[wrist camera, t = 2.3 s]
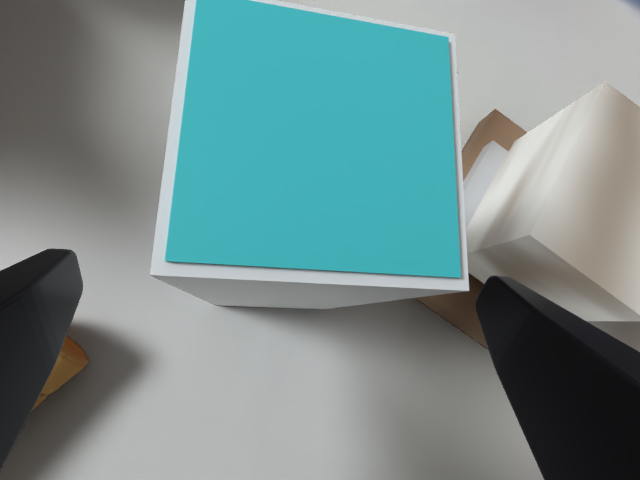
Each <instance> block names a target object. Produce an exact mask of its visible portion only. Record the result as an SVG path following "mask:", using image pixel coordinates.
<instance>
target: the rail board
mask: <svg viewBox="0 0 640 480" xmlns="http://www.w3.org/2000/svg"><path fill="white" fill-rule="evenodd" d="M461 153H462V171H463V189H464V207H465V224H466V242H467V260H468V278H469V291H465V292H457V293H449V294H441V295H433V296H425V297H417V298H416V299H417V300H419V301H420V302H422V303H423V304H425V305H426V306H427V307H429V308H430V309H432V310H433V311H434V312H436V313H437V314H439V315H440V316H441V317H443V318H444V319H446V320H447V321H449V322H450V323H451V324H453V325H454V326H456V327H457V328H458V329H460V330H461V331H463V332H464V333H465V334H467V335H468V336H470V337H471V338H473V339H474V340H475V341H477V342H478V343H480V344H481V345H482V346H484V347H485V348H487V349H488V346H487V343H486V340H485V337H484V334H483V331H482V328H481V325H480V322H479V319H478V316H477V313H476V308H475V303H476V300H477V298H478V296H479V294H480V292H481V290H482V288H483V286H484V284H485V282H486V280H487V279H488V278H489V277H490V276H493V275H499V276H508V277H511V278H512V279H514V280H516V281H517V282H519V283H521V284H523V285H524V286H526V287H528V288H530V289H531V290H533V291H535V292H537V293H538V294H540V295H542V296H544V297H545V298H547V299H549V300H550V301H552V302H554V303H556V304H557V305H559V306H561V307H563V308H564V309H566V310H568V311H570V312H571V313H573V314H575V315H576V316H578V317H580V318H582V319H583V320H585V321H587V322H589V323H590V324H592V325H594V326H596V327H597V328H599V329H601V330H602V331H604V332H606V333H608V334H609V335H611V336H613V337H615V338H616V339H618V340H620V341H622V342H623V343H625V344H627V345H629V346H630V347H632V348H634V349H635V350H637V351H639V352H640V107H639V106H637V105H636V104H635V103H633V102H632V101H631V100H630V99H628V98H627V97H626V96H624V95H623V94H622V93H620V92H619V91H618V90H616V89H615V88H614V87H612V86H611V85H610V84H608V83H607V82H606V81H605V82H603V83H602V84H600V85H599V86H597V87H596V88H594V89H593V90H591V91H590V92H588V93H587V94H585V95H584V96H582V97H581V98H579V99H578V100H576V101H575V102H573V103H572V104H570V105H569V106H567V107H566V108H564V109H563V110H561V111H560V112H558V113H557V114H555V115H554V116H552V117H551V118H549V119H547V120H546V121H544V122H543V123H541V124H540V125H538V126H537V127H535V128H534V129H532V130H531V131H529V132H528V133H527V132H526V131H524V130H523V129H522V128H520V127H519V126H518V125H516V124H515V123H514V122H512V121H511V120H510V119H508V118H507V117H506V116H504V115H503V114H502V113H500V112H499V111H498V110H496V109H495V110H493V111H492V112H491V113H490V114H489V115H487V116H486V117H485V118H484V119H483V120H482V121H480V122H479V123H478V125H477V127H476V128H475V130H474V132H473V133H472V135H471V136H470V138H469V140H468V141H467V143H466V145H465V146H464V148H463V150H462V151H461ZM488 350H489V349H488Z"/></svg>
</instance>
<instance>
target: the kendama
mask: <svg viewBox="0 0 640 480" xmlns="http://www.w3.org/2000/svg"><path fill="white" fill-rule="evenodd" d="M87 364H88V357H87V355H86V354H85V352H84V351H83V350H82V349H81V347H80V346H79V345H78V344H77V343H76V342H74V341H73V340H72V339H71V338H70V337H69V336H68V335H66V338H65V341H64V343H63V346H62V349H61V351H60V354H59V356H58V359H57V361H56V364H55V366H54V368H53V370H52V372H51V374H50V376H49V378H48V380H47V382H46V384H45V386H44V388H43V390H42V391H41V393H40V395H39V397H38V399H37V401H36V403H35V405H34V407H33V409H34V408H36V407H37V406H38V405H39V404H40V403H41V402H43V401H44V400H45V399H46V398H47V397H48V395H49V394H51V393H53V392H54V391H56V390H57V389H58V388H59V387H61V386H62V385H63V384H64V383H66V382H67V381H68V380H69V379H70V378H72V377H73V376H74V375H76V374H77V373H78V372H79V371H81V370H82V369H83V368H84V367H85V366H86V365H87ZM33 409H32V410H33Z"/></svg>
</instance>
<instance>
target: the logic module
mask: <svg viewBox="0 0 640 480" xmlns="http://www.w3.org/2000/svg"><path fill="white" fill-rule="evenodd" d="M150 275H151V276H153V277H155V278H157V279H159V280H161V281H164V282H166V283H168V284H170V285H172V286H175V287H177V288H179V289H181V290H183V291H185V292H188V293H190V294H192V295H194V296H196V297H199V298H201V299H203V300H205V301H207V302H209V303H212V304H214V305H219V306H246V307H273V308H301V309H330V308H338V307H346V306H354V305H362V304H370V303H378V302H386V301H394V300H401V299H409V298H417V297H425V296H433V295H441V294H449V293H457V292H465V291H469V278H468V260H467V242H466V224H465V207H464V189H463V171H462V153H461V136H460V118H459V100H458V82H457V65H456V47H455V34H454V33H448V32H443V31H438V30H432V29H427V28H422V27H416V26H411V25H406V24H400V23H395V22H390V21H384V20H379V19H373V18H368V17H363V16H357V15H352V14H347V13H341V12H336V11H331V10H325V9H320V8H315V7H309V6H304V5H299V4H293V3H288V2H283V1H277V0H185V5H184V13H183V20H182V28H181V36H180V44H179V51H178V59H177V67H176V74H175V82H174V90H173V98H172V105H171V113H170V121H169V129H168V136H167V144H166V152H165V159H164V167H163V175H162V183H161V190H160V198H159V206H158V214H157V221H156V229H155V237H154V244H153V252H152V260H151V268H150Z"/></svg>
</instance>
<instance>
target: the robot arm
mask: <svg viewBox="0 0 640 480" xmlns="http://www.w3.org/2000/svg"><path fill="white" fill-rule="evenodd" d="M82 291H83V281H82V277H81V273H80V268H79V264H78V260H77V256H76V254H75V253H74V252H73V251H72V250H67V249H47V250H45V251H42V252H40V253H38V254H36V255H34V256H32V257H29V258H27V259H25V260H23V261H21V262H19V263H16V264H14V265H12V266H10V267H8V268H6V269H3V270H1V271H0V471H1V469H2V467H3V465H4V463H5V461H6V459H7V457H8V456H9V454H10V452H11V450H12V448H13V446H14V444H15V442H16V440H17V438H18V436H19V434H20V432H21V430H22V428H23V426H24V424H25V423H26V421H27V419H28V417H29V415H30V413H31V411H32V409H33V407H34V405H35V403H36V401H37V399H38V397H39V395H40V393H41V391H42V390H43V388H44V386H45V384H46V382H47V380H48V378H49V376H50V374H51V372H52V370H53V368H54V366H55V364H56V361H57V359H58V356H59V354H60V351H61V349H62V346H63V343H64V341H65V338H66V335H67V333H68V330H69V327H70V325H71V322H72V319H73V316H74V314H75V311H76V308H77V306H78V303H79V300H80V298H81V295H82ZM475 308H476V313H477V316H478V319H479V322H480V325H481V328H482V331H483V334H484V337H485V340H486V343H487V346H488V349H489V352H490V355H491V358H492V361H493V364H494V367H495V369H496V372H497V374H498V376H499V379H500V381H501V383H502V385H503V388H504V390H505V392H506V394H507V397H508V399H509V401H510V404H511V406H512V408H513V410H514V413H515V415H516V417H517V419H518V422H519V424H520V426H521V428H522V431H523V433H524V435H525V437H526V440H527V442H528V444H529V446H530V449H531V451H532V453H533V455H534V458H535V460H536V462H537V464H538V467H539V469H540V471H541V473H542V476H543V478H544V480H640V352H639V351H637V350H635V349H634V348H632V347H630V346H629V345H627V344H625V343H623V342H622V341H620V340H618V339H616V338H615V337H613V336H611V335H609V334H608V333H606V332H604V331H602V330H601V329H599V328H597V327H596V326H594V325H592V324H590V323H589V322H587V321H585V320H583V319H582V318H580V317H578V316H576V315H575V314H573V313H571V312H570V311H568V310H566V309H564V308H563V307H561V306H559V305H557V304H556V303H554V302H552V301H550V300H549V299H547V298H545V297H544V296H542V295H540V294H538V293H537V292H535V291H533V290H531V289H530V288H528V287H526V286H524V285H523V284H521V283H519V282H517V281H516V280H514V279H512V278H511V277H508V276H499V275H493V276H490V277H489V278H488V279H487V280H486V282H485V284H484V286H483V288H482V290H481V292H480V294H479V296H478V298H477V300H476V303H475Z"/></svg>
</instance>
